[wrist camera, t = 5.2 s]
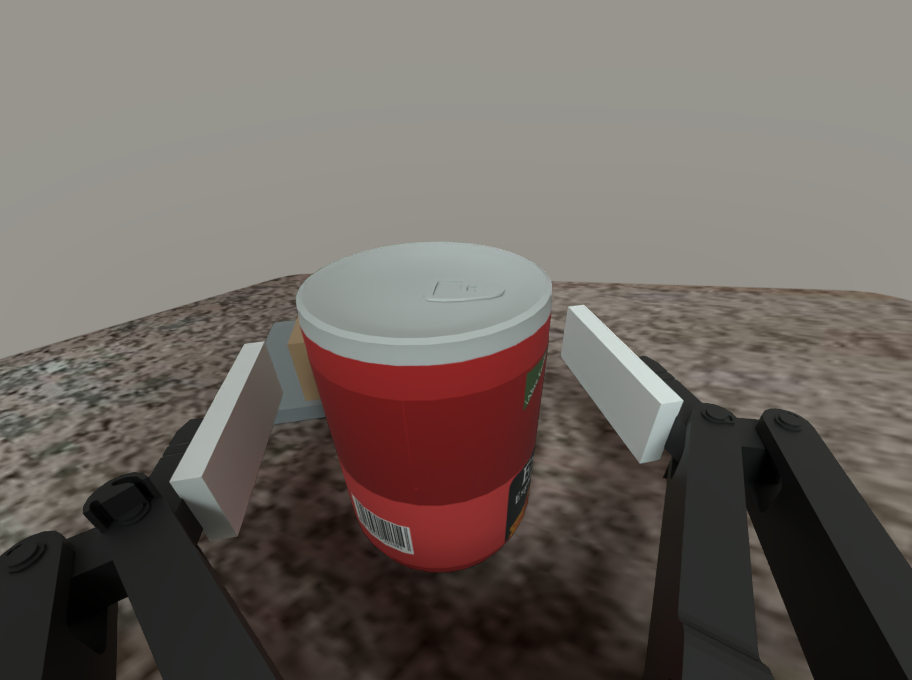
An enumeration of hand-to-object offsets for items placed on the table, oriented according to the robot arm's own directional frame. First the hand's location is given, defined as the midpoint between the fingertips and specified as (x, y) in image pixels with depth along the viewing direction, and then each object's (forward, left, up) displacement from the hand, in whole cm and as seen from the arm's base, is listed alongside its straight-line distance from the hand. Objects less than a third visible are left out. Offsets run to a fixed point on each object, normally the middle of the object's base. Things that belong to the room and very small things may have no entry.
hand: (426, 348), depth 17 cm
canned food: (0, -3, -7) cm, 7 cm away
